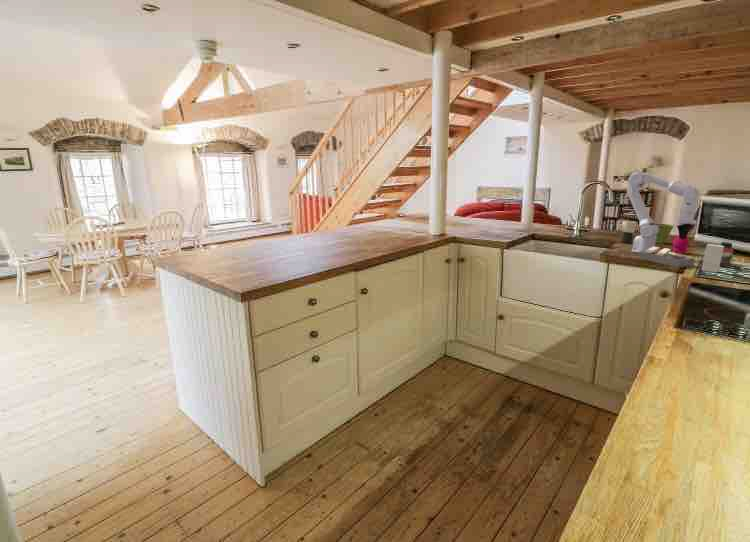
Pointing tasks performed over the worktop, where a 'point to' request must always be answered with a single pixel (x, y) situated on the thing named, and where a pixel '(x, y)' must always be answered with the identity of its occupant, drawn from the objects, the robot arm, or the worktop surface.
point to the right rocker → (675, 254)
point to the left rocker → (652, 249)
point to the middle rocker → (663, 252)
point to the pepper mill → (681, 244)
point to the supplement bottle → (726, 254)
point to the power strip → (667, 259)
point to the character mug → (628, 230)
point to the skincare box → (712, 258)
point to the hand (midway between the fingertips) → (682, 238)
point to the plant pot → (663, 232)
